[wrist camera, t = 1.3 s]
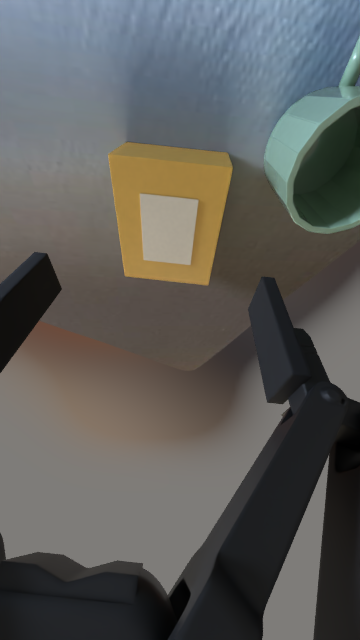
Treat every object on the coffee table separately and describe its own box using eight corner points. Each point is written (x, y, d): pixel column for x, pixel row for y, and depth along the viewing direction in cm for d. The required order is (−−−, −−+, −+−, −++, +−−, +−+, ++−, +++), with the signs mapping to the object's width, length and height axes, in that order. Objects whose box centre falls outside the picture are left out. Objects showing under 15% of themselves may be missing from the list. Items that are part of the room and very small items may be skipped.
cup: (326, 200, 20) (368, 238, 15) (253, 192, 20) (269, 227, 15) (416, 29, 13) (554, -11, 8) (303, 17, 13) (367, -31, 8)
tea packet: (126, 141, 18) (107, 154, 14) (228, 152, 18) (233, 167, 14) (135, 251, 25) (124, 277, 22) (207, 259, 25) (208, 286, 22)
